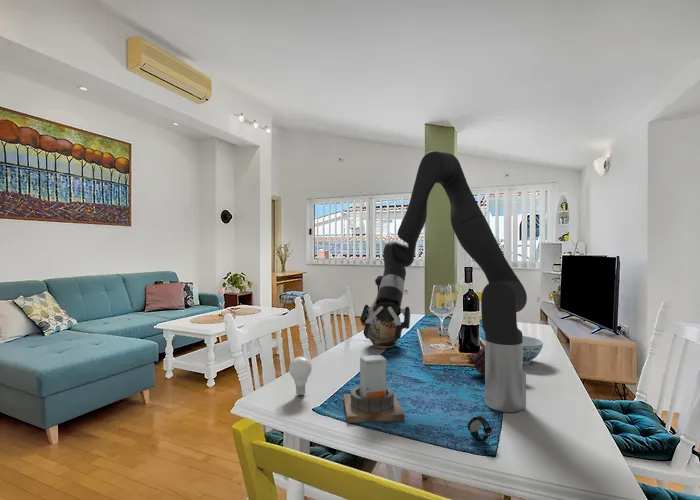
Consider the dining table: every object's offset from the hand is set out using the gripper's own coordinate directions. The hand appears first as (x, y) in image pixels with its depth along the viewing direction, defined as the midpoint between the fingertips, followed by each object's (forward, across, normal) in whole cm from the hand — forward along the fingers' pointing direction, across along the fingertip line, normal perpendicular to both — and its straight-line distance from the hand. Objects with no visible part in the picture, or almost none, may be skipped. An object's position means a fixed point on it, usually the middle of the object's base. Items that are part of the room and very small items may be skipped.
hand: (381, 338), depth 108 cm
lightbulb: (+16, -22, +7) cm, 28 cm away
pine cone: (-7, +30, +31) cm, 43 cm away
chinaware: (-22, +39, +46) cm, 64 cm away
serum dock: (+18, 0, +5) cm, 19 cm away
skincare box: (+17, 0, +5) cm, 17 cm away
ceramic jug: (-24, -13, +48) cm, 55 cm away
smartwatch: (+24, +26, 0) cm, 35 cm away
